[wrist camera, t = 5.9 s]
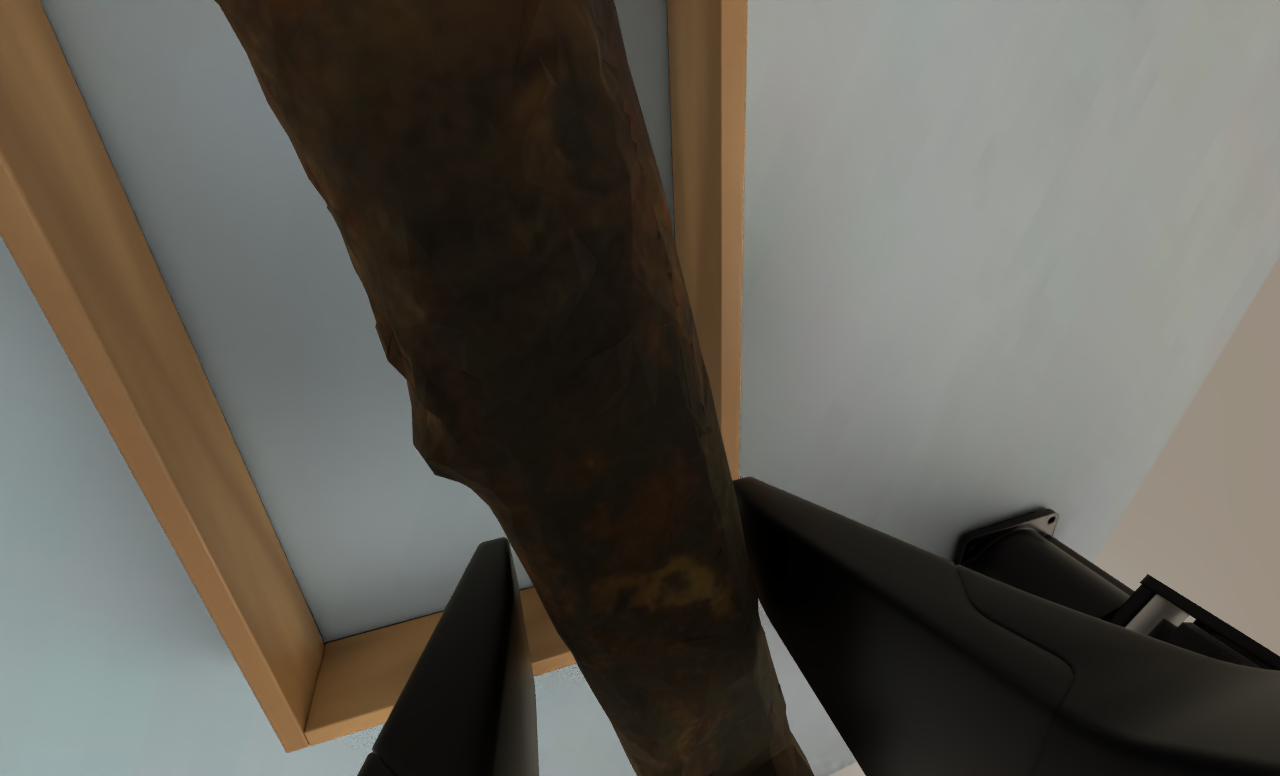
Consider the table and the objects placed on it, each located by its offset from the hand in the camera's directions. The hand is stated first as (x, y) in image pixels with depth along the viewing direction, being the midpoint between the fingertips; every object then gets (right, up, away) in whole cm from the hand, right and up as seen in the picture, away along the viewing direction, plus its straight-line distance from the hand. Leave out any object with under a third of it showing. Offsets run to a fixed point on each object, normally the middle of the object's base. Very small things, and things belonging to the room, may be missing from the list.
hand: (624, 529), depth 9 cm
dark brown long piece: (0, +1, +2) cm, 2 cm away
